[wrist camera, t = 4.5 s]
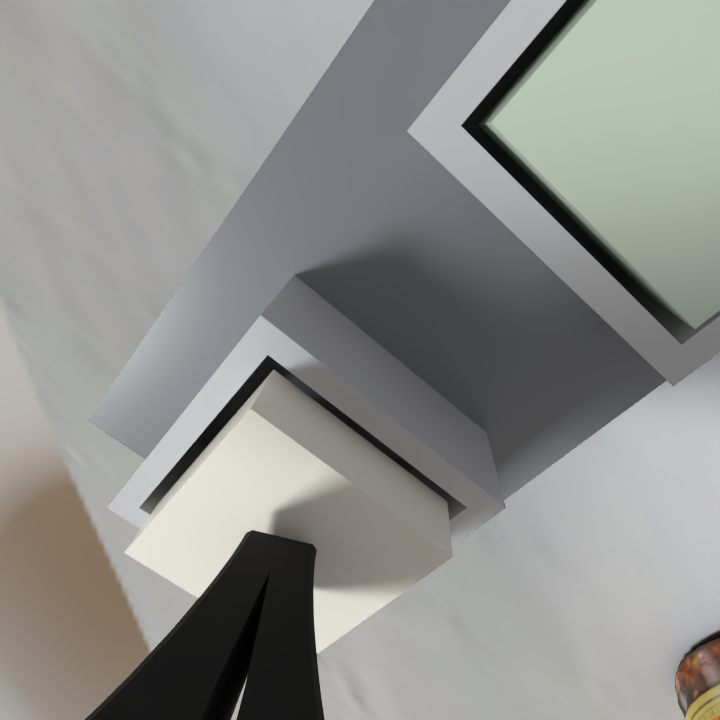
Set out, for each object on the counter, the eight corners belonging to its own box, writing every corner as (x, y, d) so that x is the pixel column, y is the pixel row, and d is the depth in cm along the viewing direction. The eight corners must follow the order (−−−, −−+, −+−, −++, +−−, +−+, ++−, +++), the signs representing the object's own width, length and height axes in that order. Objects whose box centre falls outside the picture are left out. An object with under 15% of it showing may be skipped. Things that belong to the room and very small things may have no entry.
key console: (907, 117, 11) (1286, 103, 6) (368, 549, 19) (353, 693, 14) (606, -293, 9) (835, -797, 4) (131, 382, 17) (14, 485, 12)
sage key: (920, 81, 8) (1034, 69, 6) (652, 300, 10) (694, 329, 8) (736, -177, 7) (823, -261, 5) (477, 124, 9) (491, 122, 7)
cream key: (447, 501, 11) (452, 556, 10) (316, 604, 13) (304, 663, 11) (273, 369, 10) (250, 408, 9) (158, 501, 12) (123, 552, 10)
